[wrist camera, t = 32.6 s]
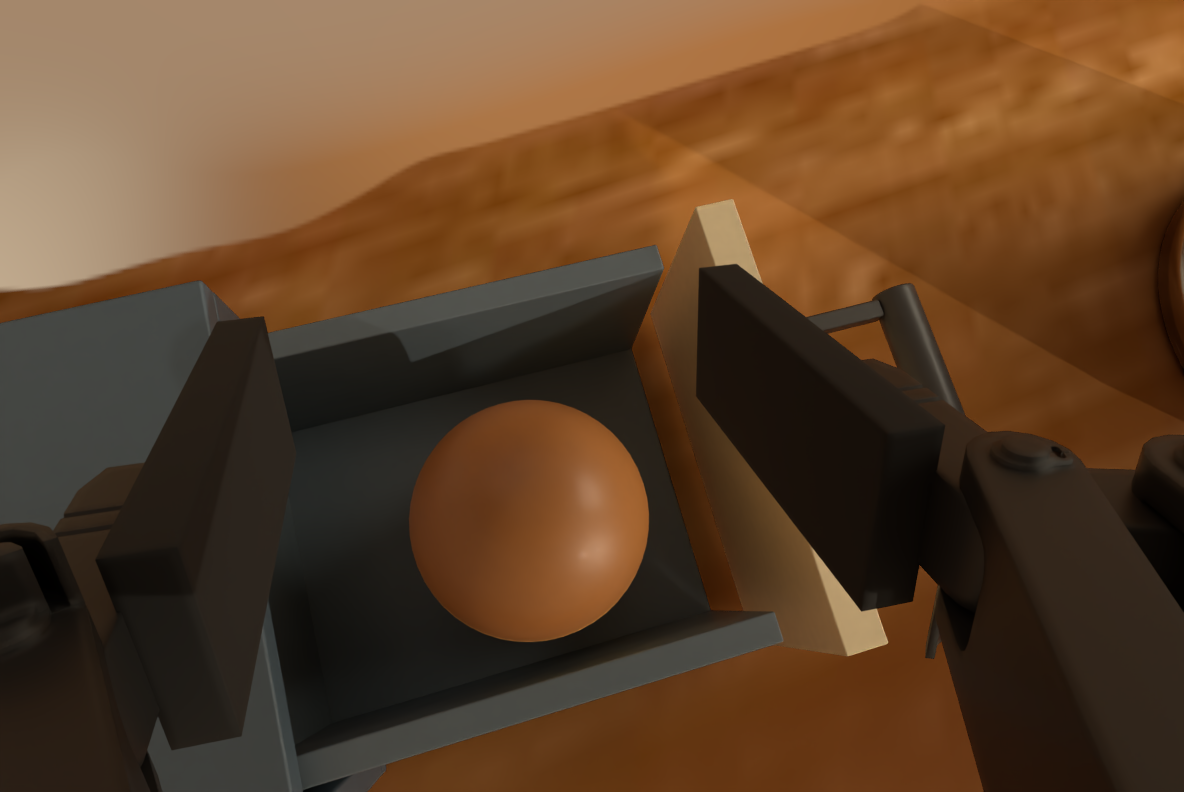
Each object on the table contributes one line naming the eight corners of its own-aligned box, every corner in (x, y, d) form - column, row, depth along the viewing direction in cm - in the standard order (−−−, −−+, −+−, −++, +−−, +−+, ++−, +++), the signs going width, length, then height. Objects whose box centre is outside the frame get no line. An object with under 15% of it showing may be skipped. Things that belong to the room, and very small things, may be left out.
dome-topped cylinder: (648, 540, 29) (722, 499, 18) (530, 669, 27) (532, 711, 16) (528, 425, 29) (529, 319, 19) (406, 546, 28) (331, 507, 17)
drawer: (822, 272, 33) (926, 155, 25) (938, 585, 30) (1102, 576, 22) (256, 407, 30) (149, 327, 21) (325, 773, 27) (232, 850, 18)
